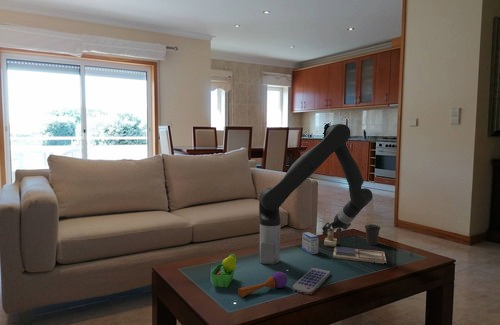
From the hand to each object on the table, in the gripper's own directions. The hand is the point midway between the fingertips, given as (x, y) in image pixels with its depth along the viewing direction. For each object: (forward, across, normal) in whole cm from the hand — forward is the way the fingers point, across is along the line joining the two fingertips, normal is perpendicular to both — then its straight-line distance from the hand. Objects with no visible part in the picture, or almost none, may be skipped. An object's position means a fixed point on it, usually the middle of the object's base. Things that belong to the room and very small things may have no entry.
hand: (330, 233), depth 186 cm
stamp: (+4, 0, +5) cm, 6 cm away
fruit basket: (-13, +67, +21) cm, 71 cm away
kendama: (-21, +56, +30) cm, 67 cm away
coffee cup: (-1, -22, +9) cm, 24 cm away
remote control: (-21, +35, +30) cm, 51 cm away
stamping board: (-10, -2, +18) cm, 21 cm away
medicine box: (0, +16, +8) cm, 18 cm away
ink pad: (-8, +2, +14) cm, 17 cm away
